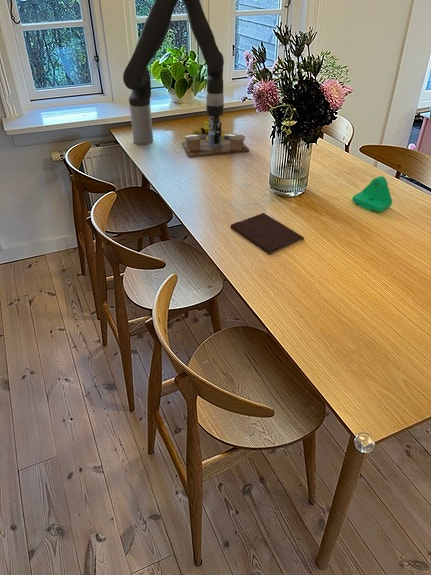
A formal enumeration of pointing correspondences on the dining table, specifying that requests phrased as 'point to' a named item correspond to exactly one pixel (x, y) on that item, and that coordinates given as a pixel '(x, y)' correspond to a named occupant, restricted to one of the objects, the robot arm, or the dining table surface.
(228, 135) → the shaft
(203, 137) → the shaft
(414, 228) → the dining table surface
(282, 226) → the notebook
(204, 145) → the base board
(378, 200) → the green triangle
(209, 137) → the block
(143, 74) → the robot arm
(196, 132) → the sprinkler
